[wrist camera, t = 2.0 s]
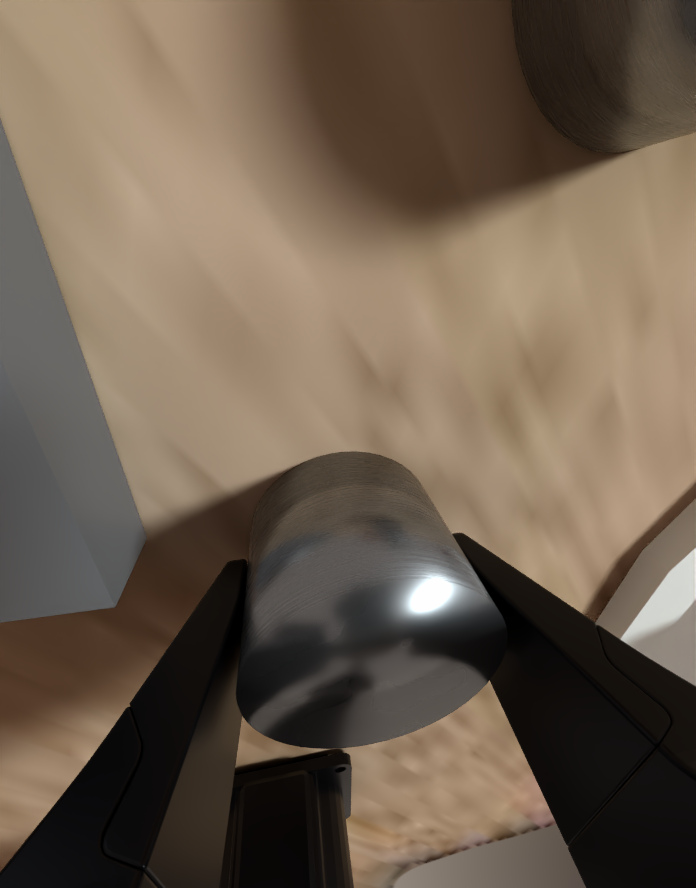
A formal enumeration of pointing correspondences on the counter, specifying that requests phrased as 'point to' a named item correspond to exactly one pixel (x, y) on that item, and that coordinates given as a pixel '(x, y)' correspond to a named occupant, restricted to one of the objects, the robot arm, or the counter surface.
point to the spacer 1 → (358, 608)
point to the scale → (52, 441)
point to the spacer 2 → (610, 68)
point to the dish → (661, 599)
